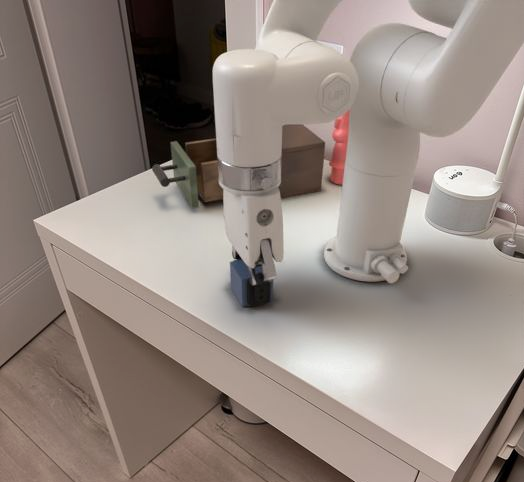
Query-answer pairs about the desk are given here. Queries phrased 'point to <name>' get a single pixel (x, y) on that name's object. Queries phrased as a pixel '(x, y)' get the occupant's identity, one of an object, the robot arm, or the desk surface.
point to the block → (243, 280)
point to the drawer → (193, 171)
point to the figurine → (339, 148)
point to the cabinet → (300, 161)
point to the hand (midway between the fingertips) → (251, 291)
